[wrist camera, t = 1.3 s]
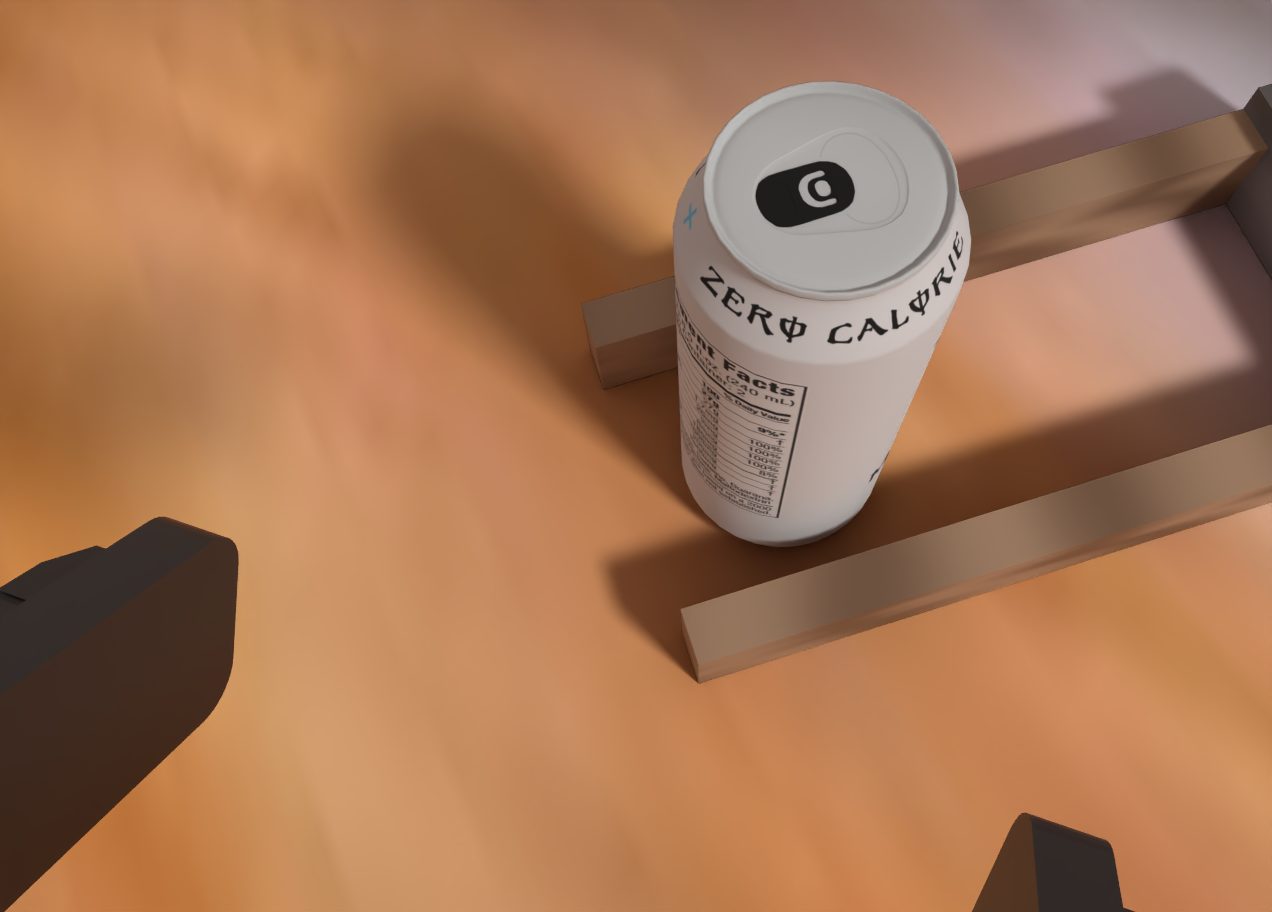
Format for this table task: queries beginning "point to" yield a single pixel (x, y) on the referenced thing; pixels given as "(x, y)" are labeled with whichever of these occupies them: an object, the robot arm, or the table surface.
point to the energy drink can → (809, 303)
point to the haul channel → (1041, 527)
